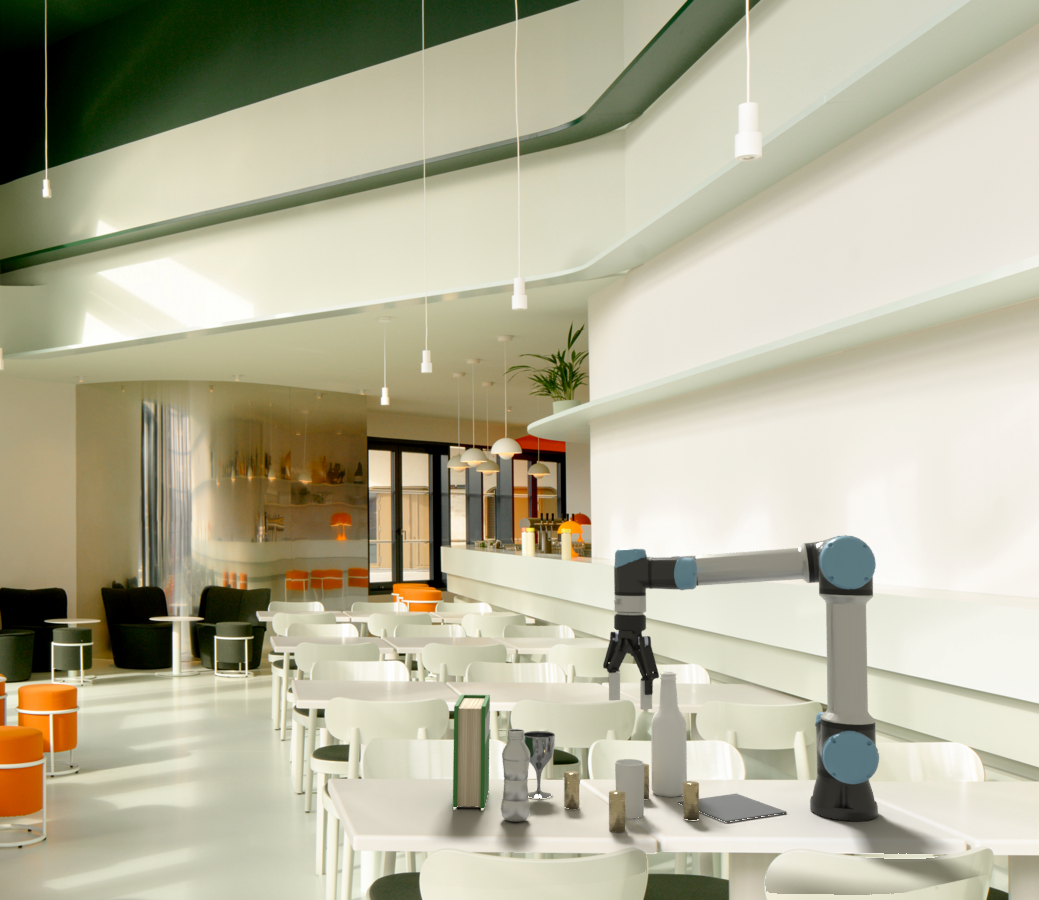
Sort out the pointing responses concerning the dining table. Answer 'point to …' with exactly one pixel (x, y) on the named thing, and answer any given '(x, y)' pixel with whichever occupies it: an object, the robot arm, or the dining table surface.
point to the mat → (735, 807)
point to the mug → (631, 785)
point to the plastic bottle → (515, 777)
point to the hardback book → (471, 750)
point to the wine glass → (539, 755)
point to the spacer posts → (618, 799)
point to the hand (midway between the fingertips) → (629, 704)
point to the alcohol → (668, 742)
